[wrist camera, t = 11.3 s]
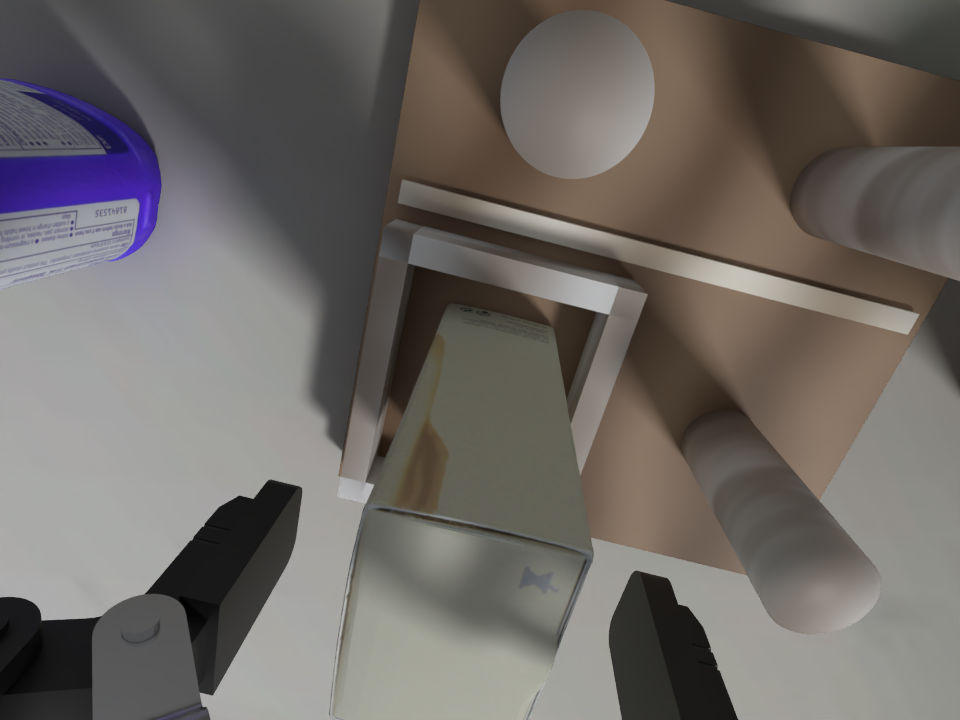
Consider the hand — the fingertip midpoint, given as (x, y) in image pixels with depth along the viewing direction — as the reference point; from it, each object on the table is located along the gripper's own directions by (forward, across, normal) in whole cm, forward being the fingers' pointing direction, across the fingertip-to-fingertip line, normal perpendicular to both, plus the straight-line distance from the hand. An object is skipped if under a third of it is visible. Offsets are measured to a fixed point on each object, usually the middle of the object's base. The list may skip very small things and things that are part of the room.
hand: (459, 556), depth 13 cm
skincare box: (+10, 0, 0) cm, 10 cm away
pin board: (+11, -5, -4) cm, 13 cm away
